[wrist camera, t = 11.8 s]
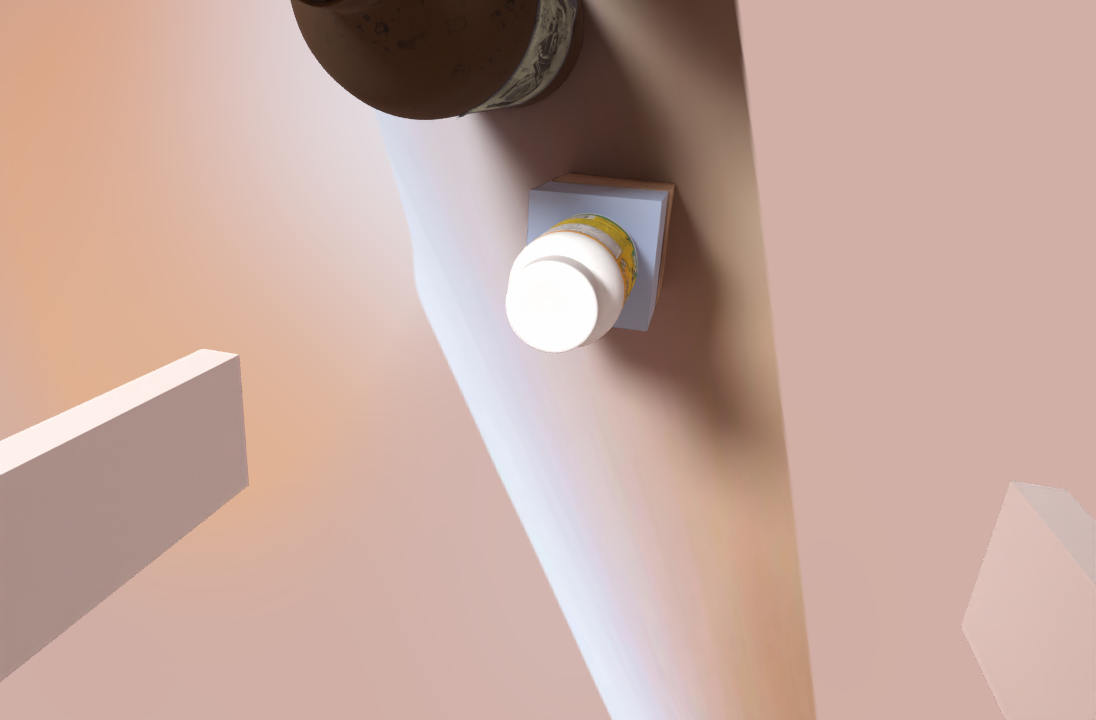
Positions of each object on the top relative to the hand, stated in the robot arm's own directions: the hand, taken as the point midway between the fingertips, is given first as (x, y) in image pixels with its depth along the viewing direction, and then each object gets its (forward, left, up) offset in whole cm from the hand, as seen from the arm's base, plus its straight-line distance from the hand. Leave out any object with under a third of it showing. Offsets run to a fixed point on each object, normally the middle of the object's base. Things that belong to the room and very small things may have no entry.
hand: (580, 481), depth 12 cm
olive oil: (-10, -12, -37) cm, 40 cm away
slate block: (+2, -4, -32) cm, 32 cm away
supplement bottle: (+2, -4, -27) cm, 27 cm away
